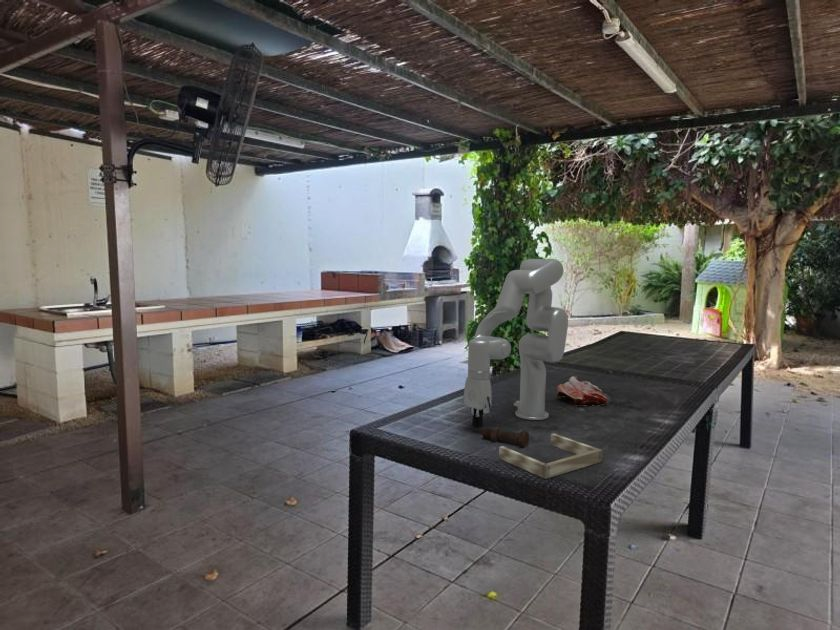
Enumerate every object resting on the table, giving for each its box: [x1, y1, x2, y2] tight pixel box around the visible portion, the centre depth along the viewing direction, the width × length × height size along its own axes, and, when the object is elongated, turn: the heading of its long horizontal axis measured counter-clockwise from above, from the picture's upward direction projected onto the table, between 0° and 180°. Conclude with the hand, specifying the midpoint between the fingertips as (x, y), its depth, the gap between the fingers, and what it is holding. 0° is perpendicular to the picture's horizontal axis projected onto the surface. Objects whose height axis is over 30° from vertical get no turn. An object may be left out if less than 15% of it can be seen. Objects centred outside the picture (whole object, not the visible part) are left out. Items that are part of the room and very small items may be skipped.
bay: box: [498, 433, 603, 480], centre depth 159 cm, size 18×24×4 cm
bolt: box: [481, 426, 530, 449], centre depth 175 cm, size 6×5×15 cm
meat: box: [556, 376, 608, 407], centre depth 229 cm, size 21×21×10 cm
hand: (477, 426), depth 186 cm, fingers closed
